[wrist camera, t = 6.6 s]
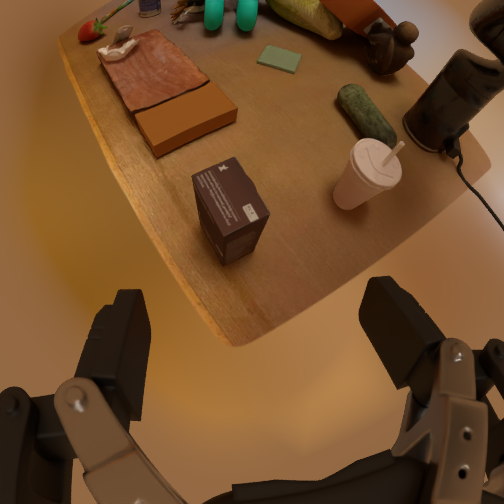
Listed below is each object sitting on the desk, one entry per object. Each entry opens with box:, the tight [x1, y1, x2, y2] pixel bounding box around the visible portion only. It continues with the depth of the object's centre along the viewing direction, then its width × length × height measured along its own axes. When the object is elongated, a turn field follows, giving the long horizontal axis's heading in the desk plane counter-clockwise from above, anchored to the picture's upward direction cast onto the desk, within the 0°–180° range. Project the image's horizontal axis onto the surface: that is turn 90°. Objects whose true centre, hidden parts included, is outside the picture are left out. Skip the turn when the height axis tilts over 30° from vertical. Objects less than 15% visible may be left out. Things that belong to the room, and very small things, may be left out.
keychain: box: [112, 25, 133, 45], centre depth 37 cm, size 10×1×3 cm
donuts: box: [204, 0, 258, 31], centre depth 40 cm, size 10×10×10 cm
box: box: [191, 157, 270, 266], centre depth 27 cm, size 6×4×12 cm
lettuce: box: [265, 0, 343, 40], centre depth 43 cm, size 15×25×16 cm
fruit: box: [78, 18, 108, 41], centre depth 39 cm, size 5×5×8 cm
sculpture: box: [365, 21, 419, 75], centre depth 40 cm, size 11×11×15 cm
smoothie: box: [333, 138, 405, 210], centre depth 30 cm, size 6×6×14 cm
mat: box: [257, 45, 302, 74], centre depth 43 cm, size 7×7×1 cm
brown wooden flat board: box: [97, 29, 238, 158], centre depth 37 cm, size 13×30×3 cm, turn 34°
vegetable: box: [337, 84, 397, 150], centre depth 39 cm, size 14×5×5 cm, turn 24°
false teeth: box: [98, 39, 140, 61], centre depth 35 cm, size 8×6×2 cm
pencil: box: [100, 0, 133, 22], centre depth 46 cm, size 1×1×18 cm
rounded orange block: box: [319, 0, 397, 39], centre depth 41 cm, size 24×8×11 cm
